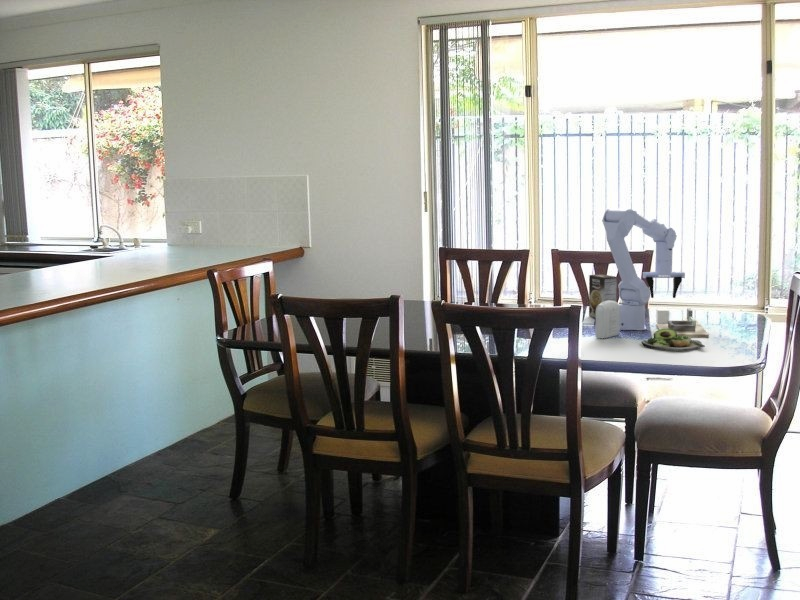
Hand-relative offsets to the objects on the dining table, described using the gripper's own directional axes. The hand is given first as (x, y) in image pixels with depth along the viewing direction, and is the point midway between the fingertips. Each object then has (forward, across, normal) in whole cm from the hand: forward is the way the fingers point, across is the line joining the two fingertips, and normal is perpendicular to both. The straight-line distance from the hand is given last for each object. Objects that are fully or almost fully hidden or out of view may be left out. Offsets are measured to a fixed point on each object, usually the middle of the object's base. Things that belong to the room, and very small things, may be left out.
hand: (663, 297), depth 317 cm
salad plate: (+10, +2, +39) cm, 41 cm away
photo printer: (+10, +21, +26) cm, 35 cm away
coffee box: (+10, +21, -11) cm, 26 cm away
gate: (+8, -9, +5) cm, 14 cm away
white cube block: (+10, 0, 0) cm, 10 cm away
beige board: (+9, -4, +11) cm, 15 cm away
